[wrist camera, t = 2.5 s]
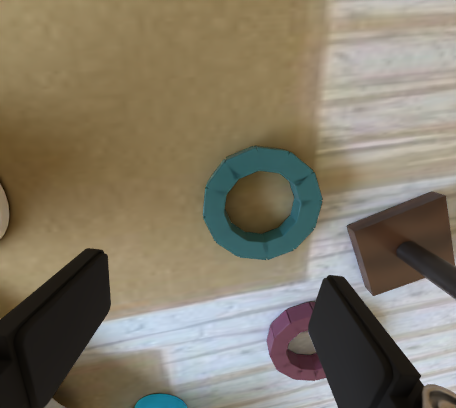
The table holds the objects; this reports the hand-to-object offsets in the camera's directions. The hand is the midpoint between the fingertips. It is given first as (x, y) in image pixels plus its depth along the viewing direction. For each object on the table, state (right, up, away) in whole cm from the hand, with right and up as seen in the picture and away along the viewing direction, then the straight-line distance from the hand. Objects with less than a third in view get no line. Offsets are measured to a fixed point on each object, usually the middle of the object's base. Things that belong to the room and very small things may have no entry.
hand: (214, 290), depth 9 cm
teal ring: (+4, +4, +13) cm, 14 cm away
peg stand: (+19, -1, +15) cm, 24 cm away
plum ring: (+11, -14, +19) cm, 26 cm away
